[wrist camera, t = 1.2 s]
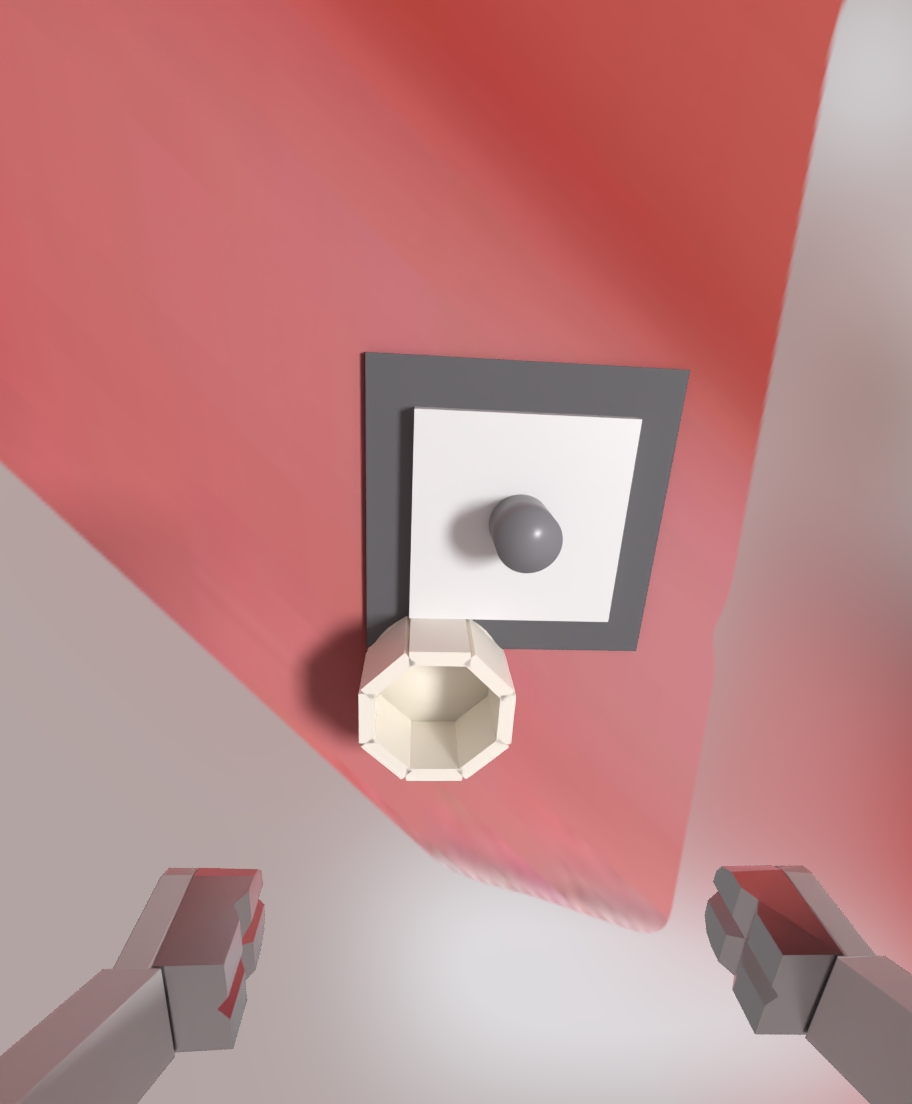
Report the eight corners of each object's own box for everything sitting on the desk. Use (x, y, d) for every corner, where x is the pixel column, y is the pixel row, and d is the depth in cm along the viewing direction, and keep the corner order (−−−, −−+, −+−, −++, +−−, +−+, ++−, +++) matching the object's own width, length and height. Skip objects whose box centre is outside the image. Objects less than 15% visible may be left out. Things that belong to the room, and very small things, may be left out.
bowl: (367, 606, 38) (357, 650, 33) (506, 609, 39) (520, 653, 34) (367, 723, 42) (359, 780, 36) (495, 723, 43) (506, 780, 37)
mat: (366, 351, 32) (365, 352, 32) (687, 369, 34) (690, 370, 34) (367, 643, 39) (366, 646, 39) (634, 648, 41) (635, 650, 41)
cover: (414, 406, 33) (413, 415, 29) (635, 417, 34) (666, 427, 30) (409, 610, 38) (407, 644, 34) (602, 614, 39) (625, 647, 35)
